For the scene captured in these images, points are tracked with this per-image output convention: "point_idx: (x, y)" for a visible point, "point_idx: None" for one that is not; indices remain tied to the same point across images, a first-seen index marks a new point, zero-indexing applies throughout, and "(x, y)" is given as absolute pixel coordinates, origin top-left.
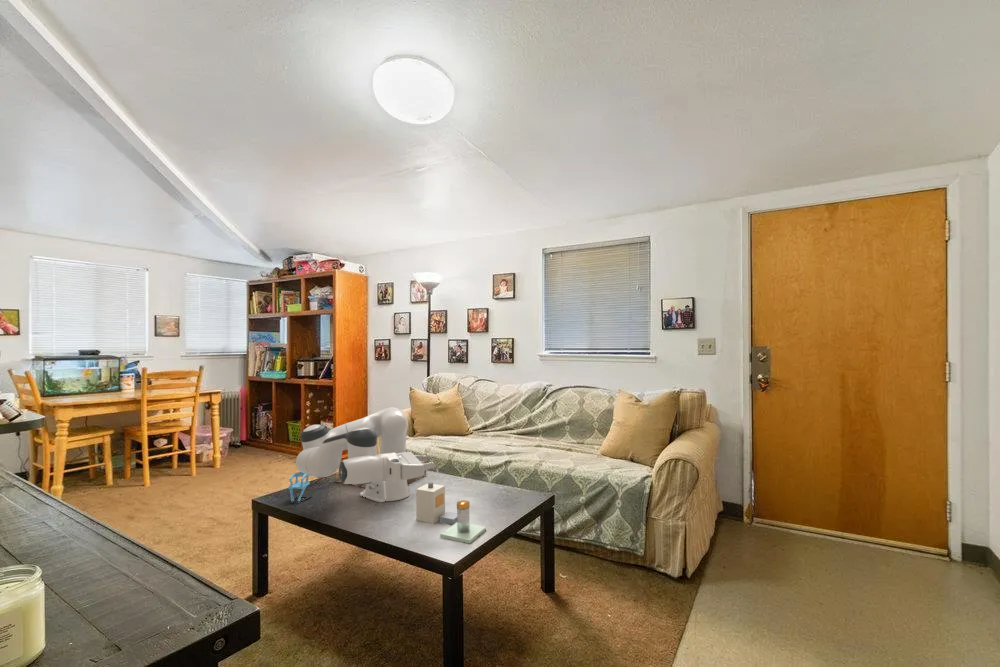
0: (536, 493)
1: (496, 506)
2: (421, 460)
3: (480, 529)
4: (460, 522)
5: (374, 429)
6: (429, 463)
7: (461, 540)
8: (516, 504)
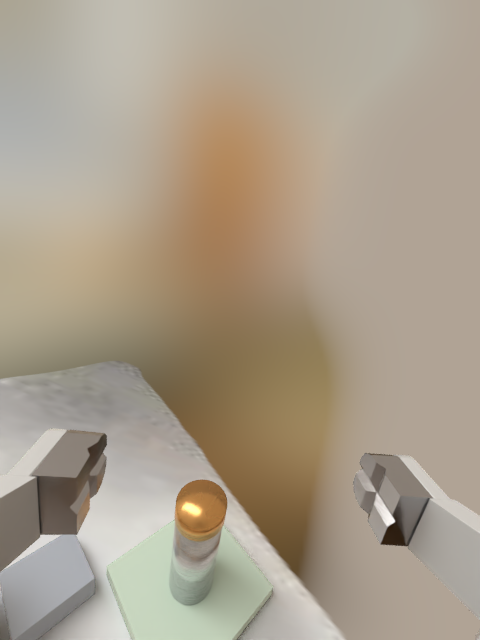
0: (102, 365)
1: (88, 429)
2: (32, 536)
3: None
4: (210, 570)
5: None
6: (458, 503)
7: (250, 618)
8: (116, 400)
